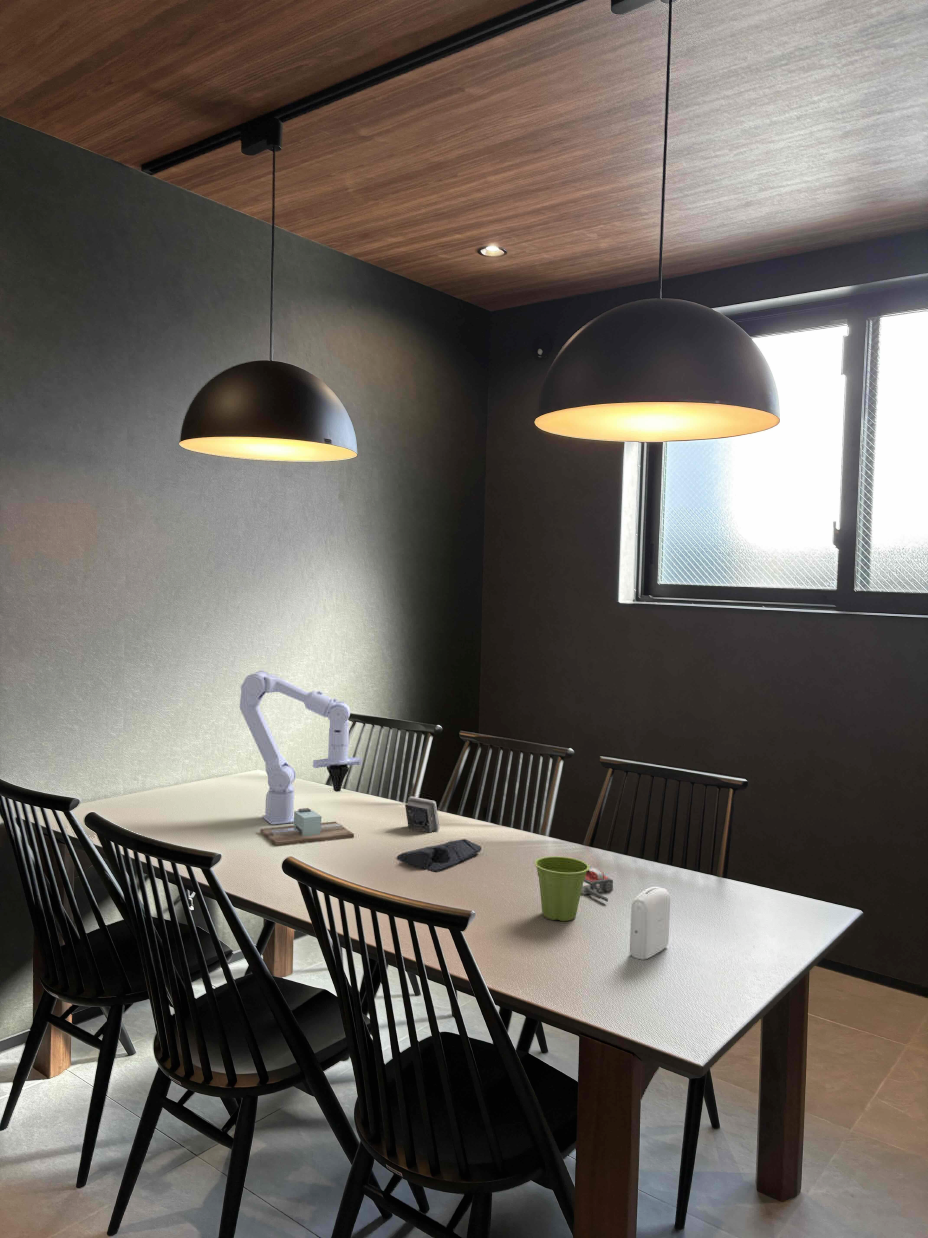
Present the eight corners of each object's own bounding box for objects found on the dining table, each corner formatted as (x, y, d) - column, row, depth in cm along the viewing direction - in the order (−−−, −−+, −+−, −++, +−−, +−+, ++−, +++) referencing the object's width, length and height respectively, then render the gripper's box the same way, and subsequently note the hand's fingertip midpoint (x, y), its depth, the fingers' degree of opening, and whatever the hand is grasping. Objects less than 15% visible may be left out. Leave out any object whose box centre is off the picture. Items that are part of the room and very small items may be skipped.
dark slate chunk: (491, 857, 236) (491, 839, 236) (433, 876, 220) (434, 856, 220) (447, 845, 247) (448, 827, 246) (389, 861, 230) (390, 843, 230)
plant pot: (572, 930, 186) (575, 876, 186) (522, 917, 193) (524, 865, 192) (596, 914, 196) (598, 863, 196) (547, 902, 203) (549, 852, 202)
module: (293, 828, 251) (294, 809, 251) (310, 827, 254) (311, 807, 253) (303, 836, 244) (303, 815, 244) (320, 834, 247) (321, 814, 246)
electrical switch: (440, 831, 259) (439, 799, 258) (429, 836, 254) (429, 804, 253) (413, 825, 264) (413, 794, 263) (403, 830, 259) (402, 799, 258)
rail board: (260, 832, 250) (260, 825, 250) (335, 825, 261) (335, 818, 260) (275, 846, 238) (276, 838, 238) (353, 837, 248) (354, 830, 248)
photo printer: (645, 962, 172) (648, 898, 171) (626, 956, 174) (628, 892, 174) (671, 947, 180) (674, 885, 179) (651, 941, 182) (654, 880, 182)
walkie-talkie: (554, 880, 220) (602, 907, 202) (554, 862, 220) (603, 887, 202) (584, 876, 224) (634, 902, 206) (584, 858, 224) (635, 883, 206)
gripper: (319, 748, 255) (318, 795, 255) (367, 745, 262) (365, 791, 263) (311, 743, 261) (309, 790, 262) (357, 741, 268) (356, 786, 269)
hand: (336, 790), depth 262 cm, fingers closed
